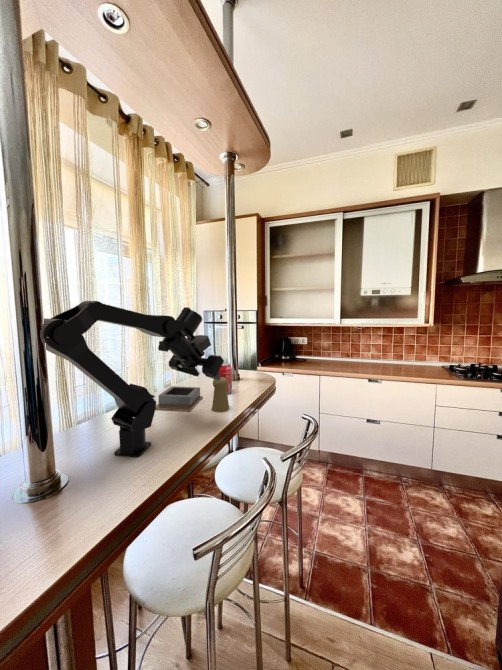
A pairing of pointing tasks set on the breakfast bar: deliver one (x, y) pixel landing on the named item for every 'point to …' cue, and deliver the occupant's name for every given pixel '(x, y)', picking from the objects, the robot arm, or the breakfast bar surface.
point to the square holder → (179, 399)
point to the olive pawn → (220, 395)
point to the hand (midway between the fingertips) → (208, 377)
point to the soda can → (227, 375)
